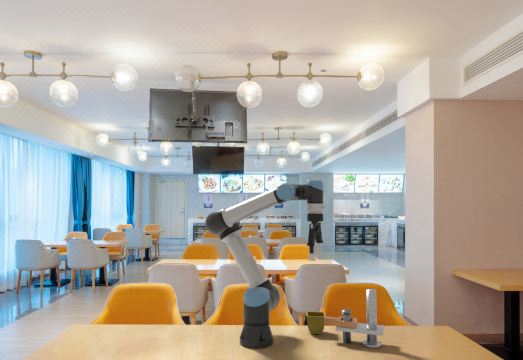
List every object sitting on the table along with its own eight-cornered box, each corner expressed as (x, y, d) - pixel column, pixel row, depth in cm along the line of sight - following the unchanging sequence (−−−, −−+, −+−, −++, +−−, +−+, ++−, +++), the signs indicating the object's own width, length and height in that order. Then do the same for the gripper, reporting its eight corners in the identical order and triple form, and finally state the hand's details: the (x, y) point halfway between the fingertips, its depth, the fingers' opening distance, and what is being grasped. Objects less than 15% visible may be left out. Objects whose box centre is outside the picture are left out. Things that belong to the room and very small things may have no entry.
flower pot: (324, 330, 205) (324, 311, 205) (325, 336, 196) (325, 316, 197) (306, 329, 206) (306, 311, 206) (306, 335, 197) (306, 316, 198)
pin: (351, 344, 185) (350, 312, 186) (341, 342, 187) (340, 311, 187) (352, 340, 189) (352, 309, 190) (342, 339, 191) (342, 308, 192)
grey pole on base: (384, 342, 187) (383, 288, 188) (382, 349, 178) (382, 293, 179) (327, 336, 196) (326, 284, 197) (322, 342, 187) (322, 288, 188)
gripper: (317, 213, 182) (317, 262, 181) (328, 212, 205) (328, 255, 204) (300, 213, 184) (300, 261, 183) (313, 212, 208) (313, 255, 207)
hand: (315, 258), depth 194 cm, fingers open, 13 cm apart
